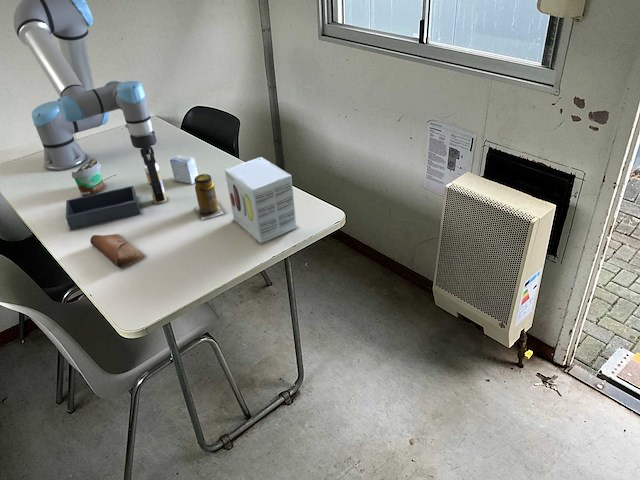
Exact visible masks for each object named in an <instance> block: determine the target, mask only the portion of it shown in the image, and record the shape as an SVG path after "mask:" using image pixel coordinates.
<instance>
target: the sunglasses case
mask: <svg viewBox="0 0 640 480" xmlns="http://www.w3.org/2000/svg"><path fill="white" fill-rule="evenodd" d="M90 244H91V245H92V246H93V247H94V248H95V249H97V250H98V251H99V252H100V253H101V254H102V255H104V256H105V257H106V258H107V259H108V260H109V261H110V262H112V263H113V264H114V265H115V266H116V267H118V268H120V269H125V268H128V267H130V266H132V265H133V264H135V263H136V262H139V261H140V260H142V259H143V258H144V257H145V256H144V254H143V252H141V251H140V250H138V249H137V248H135V247H134V246H133V245H131V244H130V242H128V241H127V240H126V239H125V238H123V237H122V236H121V235H120V234H119V233H115V234H103V235H102V234H101V235H100V234H93V235H92V236H91V237H90Z"/></svg>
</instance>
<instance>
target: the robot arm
mask: <svg viewBox="0 0 640 480" xmlns="http://www.w3.org/2000/svg"><path fill="white" fill-rule="evenodd" d="M93 25H94V19H93V15H92V12H91V9H90V7H89V4H88V3H87V1H86V0H21V1H20V2H19V3H18V4H17V6H16V8H15V10H14V13H13V27H14V31H15V34H16V36H17V37H18V39H19V40H20V42H21V43H22V44H23V45H24V46H27V47H28V49H29V51H30V52H31V54H32V55H33V57H34V58H35V60H36V61H37V63H38V64H39V66H40V68H41V69H42V71H43V72H44V74H45V76H46V77H47V78H48V80H49V82H50V83H51V85H52V87H53V88H54V90H55V91H56V93H57V94H58V96H59V98H58V99H57V100H53V101H46V102H44V103H42V104H40V105H37V107H35V108H33V110H32V111H31V118H32V122H33V125H34V126H35V129H36V131H37V134H38V136H39V140H40V142H41V145H42V147H43V162H42V163H43V165H45V168H46V169H47V170H49V171H64V170H68V169H72V168H75V167H77V166H79V165H82V164H83V163H84V162H85V161H86V159H87V156H86V153H85V151H84V150H83V149H82V147H81V146H80V145H79V144H78V143H77V141H76V138H75V136H74V134H77V133H81V132H84V131H88V130H91V129H94V128H99V127H101V126H104V125H106V124H107V123H108V122H109V117H110V112H113V111H116V110H117V111H118V110H121V111H122V113H123V116H124V117H123V118H124V120H125V123H126V124H125V125H124V127H125V128H126V129H127V131H128V134H129V139H130V142H131V145H132V146H133V147H134V148H135V149H139V152H140V155H141V158H142V160H143V164H144V166H145V165H147V168H148V172H149V175H150V179H151V183H148V186H149V185H150V186H151V185H152V188H153V192H154V195H155V199H156V202H159V201H164V200H165V199H164V195H163V192H162V188H161V184H160V181H159V178H158V174H157V171H156V167H155V163H157V162H156V158H155V152H154V151H155V150H154V148H153V146H155V145H156V143H157V136H156V133H155V129H154V124H153V120H152V116H151V114H150V110H149V109H150V108H149V105H148V101H147V98H146V92H145V90H144V87H143V84H142V83H141V82H139V81H137V80H127V81H126V80H125V81H123V82H121V81H119V80H110V81H108V82H106V84H104V86H100V87H97V88H95V84H94V79H93V74H92V68H91V63H90V57H89V51H88V46H87V42H86V38H87V37H88V35H89V27H91V26H93ZM52 36H53V37H54V38H56V39H57V40H58V44H59V47H58V45H57V44H56V42H55V40H54V39H53V37H52Z"/></svg>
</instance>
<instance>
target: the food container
mask: <svg viewBox="0 0 640 480" xmlns="http://www.w3.org/2000/svg"><path fill="white" fill-rule="evenodd" d="M101 168H102V165H101V163H100V162H99V160H98V159H96V158H95V157H89V161H88V162H86V163H85V164H83V165H81V166H80V168H79V169H78V170H76V171H71V178H72V179H74V181H75V183H76V185H77V188H78V190H79V192H80V195H81V197H84V196H89V195H93V194H98V193H102V192H103V190H104V189H105V185H104V182H103V177H102V173H101Z"/></svg>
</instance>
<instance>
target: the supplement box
mask: <svg viewBox="0 0 640 480" xmlns="http://www.w3.org/2000/svg"><path fill="white" fill-rule="evenodd" d="M224 174H225V177H226V183H227V189H228V195H229V201H230V206H231V211H232V217H233V220H234V221H235V222H236V223H237V224H239V225H240V227H242V228H243V229H244V230H245V231H246V232H247V233H248V234H249V235H251V236H252V237H253V238H254V239H255V240H256V241H257V242H258V243H259V244H264V243H266V242H268V241H270V240H272V239H274V238H277V237H279V236H281V235H284V234H286V233H288V232H290V231H293V230H295V229H297V227H298V226H297V218H296V209H295V208H296V207H295V199H294V187H293V178H292V174H291V173H288V172H287V171H285V170H284V169H282V168H280V166H278V165H276V164H274V163H272V162H271V161H269V160H267V159H266V158H264V157H262V156H260V157H256V158H253V159H250V160H248V161H244V162H242V163H239V164H236V165H235V166H234V165H233V166H230V167H228V168H225V169H224Z"/></svg>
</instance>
